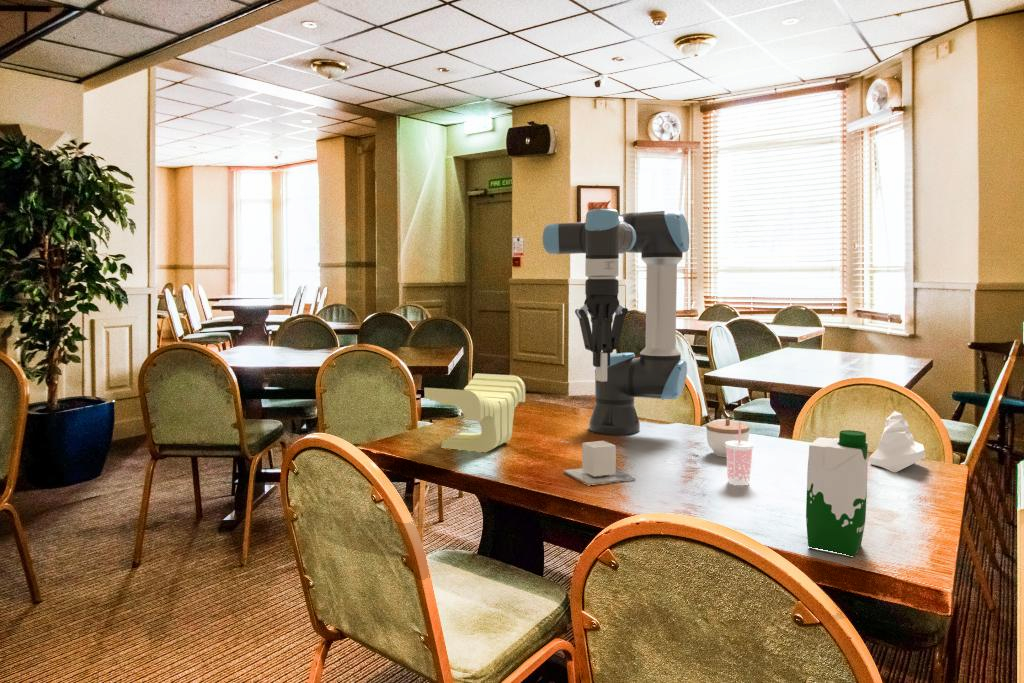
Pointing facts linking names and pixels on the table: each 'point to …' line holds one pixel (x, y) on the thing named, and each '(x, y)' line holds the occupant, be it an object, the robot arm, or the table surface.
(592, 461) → the cream cube
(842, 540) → the milk carton
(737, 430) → the lidded jar
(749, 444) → the beverage cup
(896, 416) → the soft serve ice cream
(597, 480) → the square grey base plate
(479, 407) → the slatted curved stool
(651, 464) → the table surface
